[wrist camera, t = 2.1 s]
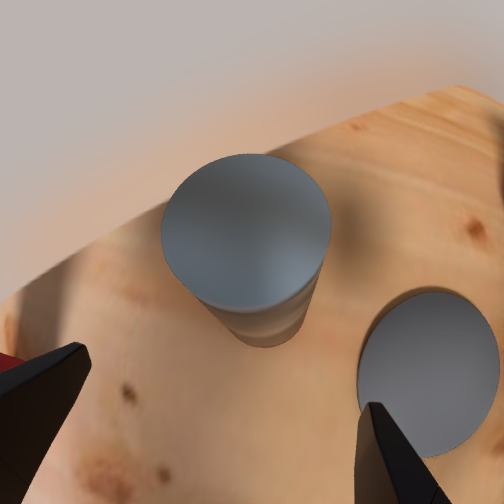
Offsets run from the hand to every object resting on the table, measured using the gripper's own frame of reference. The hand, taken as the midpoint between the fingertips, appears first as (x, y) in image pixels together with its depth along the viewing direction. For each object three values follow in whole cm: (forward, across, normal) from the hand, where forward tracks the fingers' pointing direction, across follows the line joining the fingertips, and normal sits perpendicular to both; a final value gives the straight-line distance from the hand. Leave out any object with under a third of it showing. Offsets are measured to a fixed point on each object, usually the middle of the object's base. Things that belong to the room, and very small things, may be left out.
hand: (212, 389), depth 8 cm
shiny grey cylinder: (+12, 0, +4) cm, 13 cm away
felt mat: (+9, -13, +7) cm, 17 cm away
